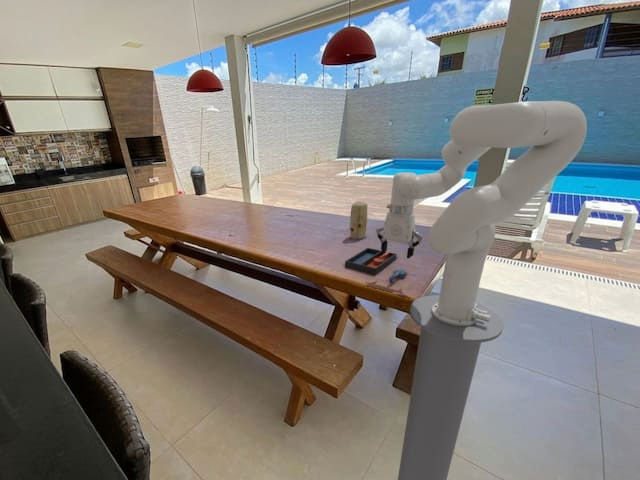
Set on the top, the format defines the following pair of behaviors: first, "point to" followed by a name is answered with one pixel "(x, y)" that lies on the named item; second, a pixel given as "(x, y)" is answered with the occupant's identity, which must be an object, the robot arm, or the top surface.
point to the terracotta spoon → (381, 259)
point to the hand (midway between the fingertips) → (396, 254)
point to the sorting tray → (369, 261)
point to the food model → (358, 220)
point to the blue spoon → (397, 275)
